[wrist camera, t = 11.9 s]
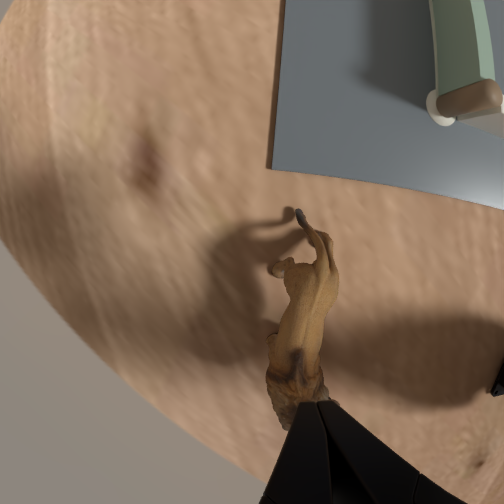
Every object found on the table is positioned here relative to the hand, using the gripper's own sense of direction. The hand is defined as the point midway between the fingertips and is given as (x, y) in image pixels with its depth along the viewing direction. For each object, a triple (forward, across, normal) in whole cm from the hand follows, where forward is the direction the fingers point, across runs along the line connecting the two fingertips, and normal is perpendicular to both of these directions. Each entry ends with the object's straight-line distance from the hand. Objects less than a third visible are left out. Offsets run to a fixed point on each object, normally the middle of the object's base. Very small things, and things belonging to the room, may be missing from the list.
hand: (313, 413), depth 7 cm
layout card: (+13, -11, -15) cm, 23 cm away
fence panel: (+13, -11, -11) cm, 20 cm away
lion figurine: (+13, -1, +2) cm, 14 cm away
